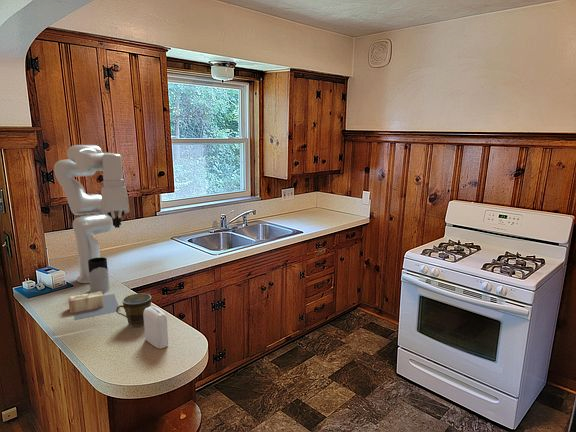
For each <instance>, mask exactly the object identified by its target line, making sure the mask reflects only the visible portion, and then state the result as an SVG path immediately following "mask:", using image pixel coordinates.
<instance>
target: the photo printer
mask: <svg viewBox="0 0 576 432" xmlns="http://www.w3.org/2000/svg"><path fill="white" fill-rule="evenodd" d="M143 317H144V326H143V329H144V339H145V340H146V341H147V343H149V344H151V346H154V347H155V348H157V349H160V350H161V349H164V348H166V347H168V345H169V336H168V334H169V333H168V332H169V331H168V319H167V316H166V314H165V313H164V312H163V311H162V310H161V309H160V308H158V307H155V306H150V307H148V308H146V309H145V310H144V312H143Z"/></svg>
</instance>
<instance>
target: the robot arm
mask: <svg viewBox="0 0 576 432" xmlns="http://www.w3.org/2000/svg"><path fill="white" fill-rule="evenodd" d="M66 152H67V153H66V156H67V157H68V158H65V159H61V160H58V161H56V163H54V166H53V167H54V168H53V170H54V174H55V177H56V178H55V179H56V180H57V182H58V184H59V185H60V186H61V188H62V190H63V192H64V194H65V198H66V200H67V202H68V206H69V209H70V211H71V213H72V214H73V215H75V216H78V217H76V218H74V219H73V221H72V230H73V232H74V236H75V237H74V238H75V241H76V242H75V243H76V250H77V260H78V269H79V276H78V277H76V282H77V283H80V284H90V282H89V272H88V271H89V267H88V260H90V259H93V258H100V257H101V251H100V249H101V248H100V242H99V241H98V240H97V239H96V238H95V237H94V236H95V235H99V234H100V235H101V234H104V233H109V232H111V231H112V230H113V228H115V229H120V227H121V226H122V222H121V221H122V220H121V219H122V217H123V216H124V215H125V214H128V213H130V204H129V203H130V202H129V196H128V192H127V187H126V186H125V185H127V184H128V180H125V179H124V169H123V168H124V167H123V159H122V158H123V157H122V155H121V154H119V153H113V152H103V151H102V148H101V147H100V146H98V145H97V144H74V145H71V146H70V147H69V148H68V149H67V151H66ZM97 172H102V179H103V187H101V192H100V194H99V193H91V194H88V193H86V189H85V188H84V185H83V184H82V183H81V182H79V180H77V179H75V177H77V178H78V177H91V176H93V175H95V174H96V173H97ZM115 212H117V215H115Z"/></svg>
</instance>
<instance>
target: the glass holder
mask: <svg viewBox="0 0 576 432" xmlns="http://www.w3.org/2000/svg"><path fill="white" fill-rule="evenodd" d="M88 267H89V271H88V272H89V282H90V283H89V293H94V292H100V291H102V294H105V293H108V292H109V291H111V288H110V278H109V268H108V261H107V258H106V257H101V256H100V258H93V259H90V260H88Z"/></svg>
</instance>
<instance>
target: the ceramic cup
mask: <svg viewBox="0 0 576 432" xmlns="http://www.w3.org/2000/svg"><path fill="white" fill-rule="evenodd" d="M151 305H152V296H151V294H149V293H143V292H141V293H133V294H130V295H127V296H125V297H124V298H123V299H122V304H121V305H119V306H118V307H117V309H116V312H115V313H117V314H118V315H121V316H123V317H125V318H126V319H127V323H128V326H129V327H131V328H132V329H133V328H142V327H144V317H143V312H144V310H145V309H146V308H148V307H152V306H151ZM119 308H120V309H121V308H123V309H124V312H125V314H124V313H121V312H120V311H119V312H118V309H119Z"/></svg>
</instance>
